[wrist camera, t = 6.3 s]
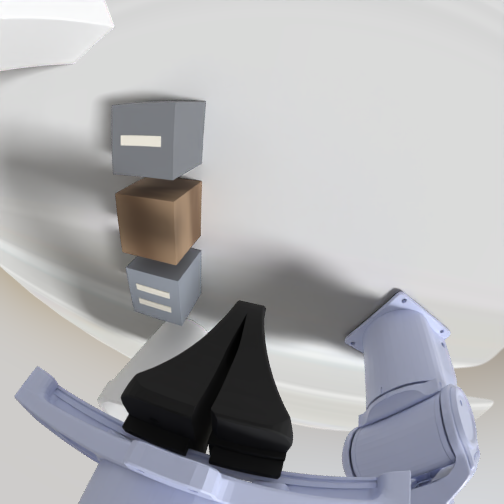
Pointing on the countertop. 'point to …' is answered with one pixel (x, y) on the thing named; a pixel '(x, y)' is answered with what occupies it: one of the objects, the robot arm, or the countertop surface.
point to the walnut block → (159, 218)
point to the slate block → (165, 286)
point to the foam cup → (149, 361)
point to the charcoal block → (157, 138)
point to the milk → (50, 31)
